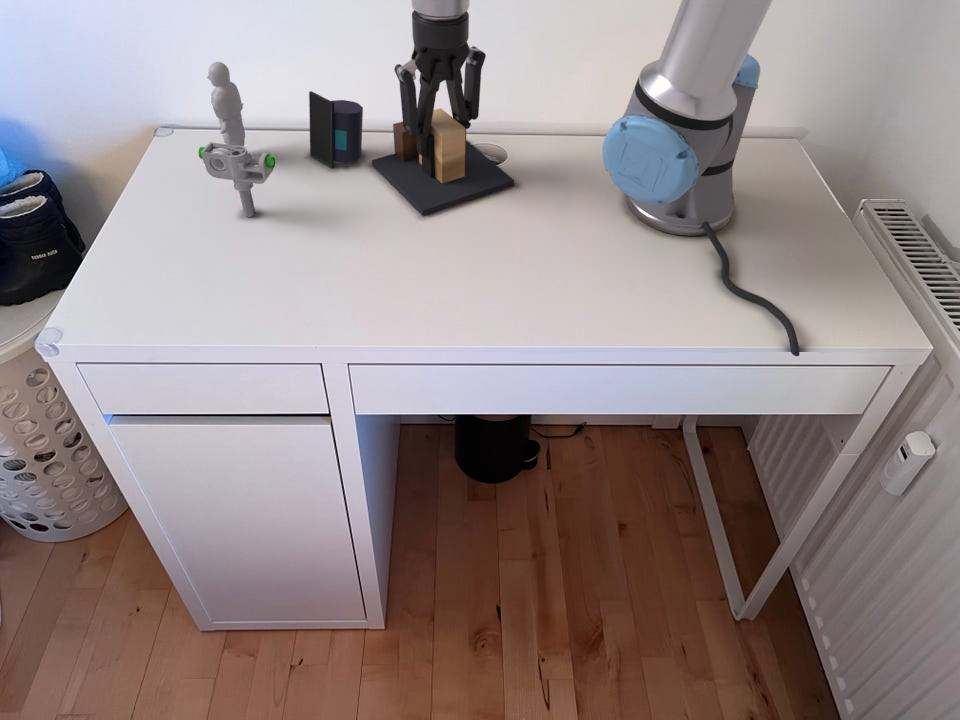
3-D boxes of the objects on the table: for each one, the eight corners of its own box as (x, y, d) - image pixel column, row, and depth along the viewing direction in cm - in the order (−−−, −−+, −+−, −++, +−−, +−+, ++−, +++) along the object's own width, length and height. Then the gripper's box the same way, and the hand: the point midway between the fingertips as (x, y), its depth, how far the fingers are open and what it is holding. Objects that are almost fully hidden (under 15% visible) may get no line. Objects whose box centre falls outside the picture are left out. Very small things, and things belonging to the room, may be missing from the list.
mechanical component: (279, 224, 105) (267, 161, 98) (211, 214, 106) (194, 151, 99) (287, 213, 107) (276, 150, 100) (220, 203, 108) (204, 140, 101)
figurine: (236, 140, 121) (215, 48, 110) (259, 142, 121) (240, 50, 110) (214, 171, 114) (190, 75, 103) (240, 173, 114) (218, 77, 103)
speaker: (321, 172, 114) (318, 106, 108) (309, 156, 118) (306, 91, 111) (368, 165, 117) (368, 101, 111) (355, 150, 121) (354, 87, 114)
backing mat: (514, 185, 113) (514, 180, 113) (422, 216, 107) (422, 210, 106) (459, 140, 123) (459, 134, 122) (372, 165, 116) (371, 159, 116)
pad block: (464, 176, 113) (465, 127, 107) (442, 183, 111) (441, 134, 106) (441, 155, 117) (440, 107, 111) (419, 162, 116) (417, 114, 110)
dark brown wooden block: (451, 152, 118) (451, 122, 114) (407, 165, 115) (406, 135, 111) (438, 140, 120) (438, 111, 117) (394, 153, 117) (392, 123, 114)
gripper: (479, -11, 103) (475, 143, 120) (368, 12, 96) (380, 171, 113) (510, 8, 99) (501, 164, 115) (396, 32, 92) (404, 195, 109)
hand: (441, 167), depth 114 cm, fingers closed on pad block, 4 cm apart
